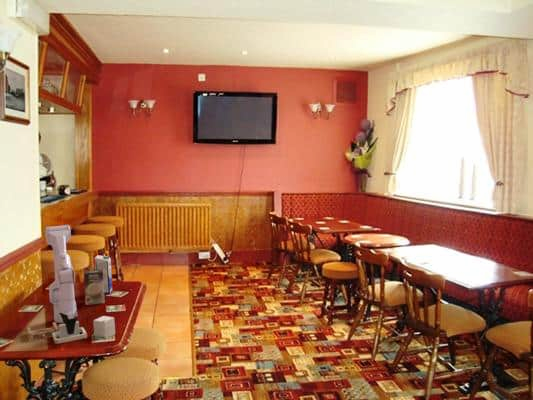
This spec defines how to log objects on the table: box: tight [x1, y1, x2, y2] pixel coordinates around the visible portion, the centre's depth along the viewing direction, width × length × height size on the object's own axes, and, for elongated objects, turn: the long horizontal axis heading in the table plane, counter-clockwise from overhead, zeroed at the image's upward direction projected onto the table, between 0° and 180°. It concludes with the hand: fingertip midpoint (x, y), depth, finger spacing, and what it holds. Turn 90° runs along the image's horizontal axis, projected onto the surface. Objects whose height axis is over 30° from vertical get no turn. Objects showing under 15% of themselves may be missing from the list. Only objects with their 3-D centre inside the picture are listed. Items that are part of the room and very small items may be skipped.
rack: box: [26, 321, 59, 342], centre depth 210 cm, size 11×10×4 cm
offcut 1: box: [32, 332, 44, 341], centre depth 205 cm, size 4×2×2 cm, turn 120°
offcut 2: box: [44, 330, 55, 339], centre depth 208 cm, size 4×2×2 cm, turn 120°
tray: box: [52, 326, 88, 345], centre depth 206 cm, size 12×9×2 cm
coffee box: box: [83, 269, 105, 306], centre depth 253 cm, size 9×6×16 cm
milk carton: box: [94, 254, 113, 295], centre depth 270 cm, size 7×7×20 cm
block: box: [58, 320, 81, 339], centre depth 205 cm, size 8×2×6 cm, turn 120°
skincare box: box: [92, 315, 116, 338], centre depth 208 cm, size 6×6×7 cm
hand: (69, 331), depth 205 cm, fingers open, 7 cm apart
